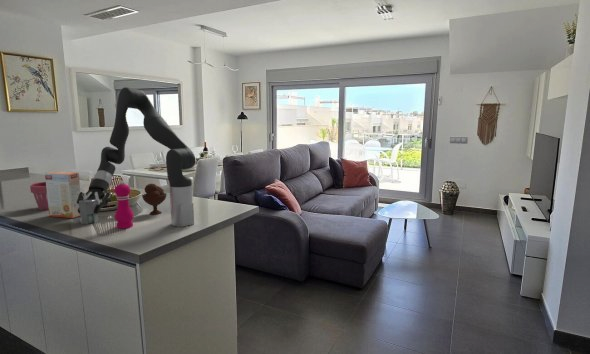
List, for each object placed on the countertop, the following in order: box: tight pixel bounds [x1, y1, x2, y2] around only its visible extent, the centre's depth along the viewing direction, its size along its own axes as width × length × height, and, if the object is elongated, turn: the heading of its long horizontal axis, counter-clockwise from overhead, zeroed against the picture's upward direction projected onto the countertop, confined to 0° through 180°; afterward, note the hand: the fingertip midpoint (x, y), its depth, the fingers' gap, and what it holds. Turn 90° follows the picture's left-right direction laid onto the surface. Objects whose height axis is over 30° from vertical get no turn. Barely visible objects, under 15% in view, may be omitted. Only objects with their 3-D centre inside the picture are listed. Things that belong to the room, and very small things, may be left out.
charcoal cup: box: [79, 199, 99, 225], centre depth 151 cm, size 6×6×10 cm
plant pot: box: [29, 181, 49, 211], centre depth 176 cm, size 14×14×13 cm
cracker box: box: [44, 171, 81, 219], centre depth 160 cm, size 14×6×21 cm, turn 74°
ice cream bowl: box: [141, 183, 168, 216], centre depth 166 cm, size 11×11×15 cm
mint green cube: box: [88, 214, 95, 224], centre depth 152 cm, size 4×4×4 cm
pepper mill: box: [114, 180, 135, 230], centre depth 145 cm, size 7×7×20 cm
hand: (87, 213), depth 150 cm, fingers closed on charcoal cup, 6 cm apart
